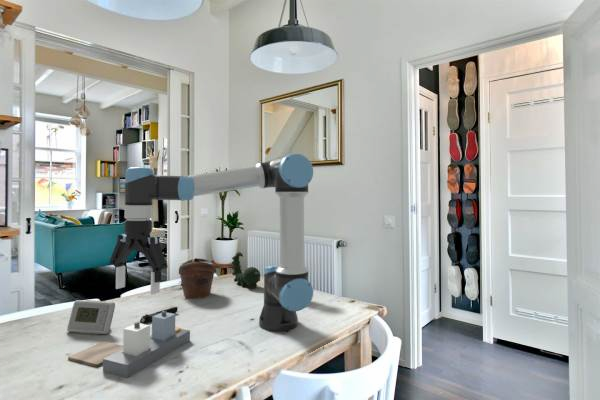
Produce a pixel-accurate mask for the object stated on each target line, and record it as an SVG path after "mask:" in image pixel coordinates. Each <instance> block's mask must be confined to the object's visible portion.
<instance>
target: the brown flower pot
mask: <svg viewBox="0 0 600 400" xmlns="http://www.w3.org/2000/svg"><path fill="white" fill-rule="evenodd" d="M216 273H217V268H216V266H215V264H214V263H213V262H212V261H210V260H208V259H205V258H199V257H198V258H197V257H195V258H192V259H190V260H187V261H185V262H184V263H182V264H181V265H179V267H178V275H179V276H180V281H179V282H178V284H180V287H182V291H183V297H185V298H188V299H201V298H206V297H208V296H209V295H210V294H211V293H212V292H211V291H212V286H213V281H214V277H215V276H214V275H215V274H216Z"/></svg>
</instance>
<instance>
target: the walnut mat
mask: <svg viewBox="0 0 600 400" xmlns="http://www.w3.org/2000/svg"><path fill="white" fill-rule="evenodd" d="M122 349H123V344H118V343H113V342H108V341H101V342H99V343H96V344H94V345H93V346H90V347H88V348H86V349H82V350H81V351H78V352H76V353H74V354H71V355H69V356H68V357H67V360H68V361H73V362H76V363H78V364H79V363H80V364H83V365H88V366H92V367H95V368H99V367H101V366H103V359H104V358H106V357H108V356H110V355H112V354H114V353H116V352H118V351H120V350H122Z"/></svg>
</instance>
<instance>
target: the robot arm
mask: <svg viewBox="0 0 600 400" xmlns="http://www.w3.org/2000/svg"><path fill="white" fill-rule="evenodd" d="M124 177H125V179H124V180H125V181H124V216H123V218H124V219H126V220H124V227H123V228H124V229H123V232H124V233H122V234H118V235H117V241H116V244H115V246H114V249H113V252H112V254H111V257H110V259H109V265H113V266H114V277H115V289H116V290H118V289H119V290H120V289H122V288H125V287H126V264H125V262H126V261H127V260H128V258H129V257H130V256H131V254H132V253H133V252H134V251H135V252H140V253H142V254H143V255H144V257H145V259H146V260H147V262H148V264H149V265H150V267H151V269H152V271H150V295H155V294H158V293H160V291H161V290H160V287H161V286H160V285H161V284H160V283H161V282H162V271H163V270H166V269H168V263H167V260H166V258H165V256H164V252H163V250H162V247H161V244H160V243H161V242H160V237H159V236H153V237H152V236H151V233H152V231H153V221H152V218H153V204H154V203H153V202H154V201H155V200H156V201H163V200H164V201H181V202H182V201H192V200H193V199H194V198H195V197H197V196H204V195H205V196H206V195H210V194H211V195H212V194H217V193H223V192H229V191H230V192H231V191H235V190H236V191H237V190H243V189H249V188H250V189H251V188H256V187H259V188H260V189H265V188H266V189H267V188H275V189H274V191H275V192H274V193H275V194H276V195H277V197H279V198H278V199H279V264H273V265H267V266H265V268H264V273H263V277H264V279H263V282H264V283H263V288H264V289H263V306H262V309H261V312H260V314H259V319H258V326H260V328H262V329H264V330H266V331H271V332H284V331H285V332H286V331H290V330H293V329H295V328H296V327H298V325H299V318H298V314H297V312H300V311H302V310H304V309H306V308H307V307H308V306H309V304H310V303H311V302H312V300H313V297H314V288H313V286H312V284H311V282H310V281H309V269H308V268H307V266H305V197H306V196H307V195H308V194H309V183H311V181H312V180H313V177H314V167H313V164H312V163H311V161H310V160H309V159H308V157H306V156H305V155H303V154H300V153H287V154H285V155H283V156H278V157H277V158H274V159H271V160H269V161H264V162H259V163H257V164H256V165H255V166H249V167H248V166H247V167H242V168H241V167H240V168H235V169H234V168H233V169H227V170H220V171H212V172H211V171H210V172H206V173H205V172H204V173H197V174H196V173H195V174H192V175H189V174H188V175H157V174H155V173H154V170H153V168H149V167H137V166H136V167H134V166H132V167H129V168H127V169H126V170H125V176H124ZM153 200H154V201H153Z"/></svg>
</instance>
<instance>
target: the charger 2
mask: <svg viewBox="0 0 600 400" xmlns="http://www.w3.org/2000/svg"><path fill="white" fill-rule="evenodd" d="M161 311H162V310H161ZM175 327H176V313H174V314H173V313H167V312H166V311H162V313H160V314H157V315H155V316H153V317H152V321H151V335H152V339H154V340H159V341H166V340H168V339H170V338H172V337H174V336H175Z"/></svg>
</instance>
